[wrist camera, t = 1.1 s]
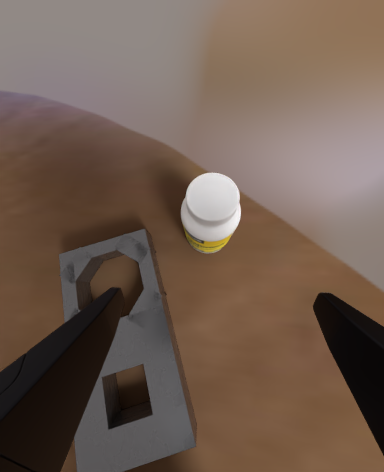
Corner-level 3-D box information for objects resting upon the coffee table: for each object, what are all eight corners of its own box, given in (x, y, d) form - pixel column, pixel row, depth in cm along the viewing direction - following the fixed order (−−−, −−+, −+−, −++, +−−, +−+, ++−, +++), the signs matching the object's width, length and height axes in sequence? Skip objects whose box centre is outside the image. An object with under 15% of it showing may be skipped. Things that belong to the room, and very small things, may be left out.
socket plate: (198, 423, 17) (197, 445, 15) (94, 458, 17) (76, 487, 14) (151, 233, 23) (145, 226, 20) (72, 256, 22) (57, 253, 20)
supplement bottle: (181, 248, 22) (166, 219, 13) (192, 209, 23) (186, 157, 14) (224, 259, 21) (242, 237, 12) (233, 218, 23) (255, 170, 13)
